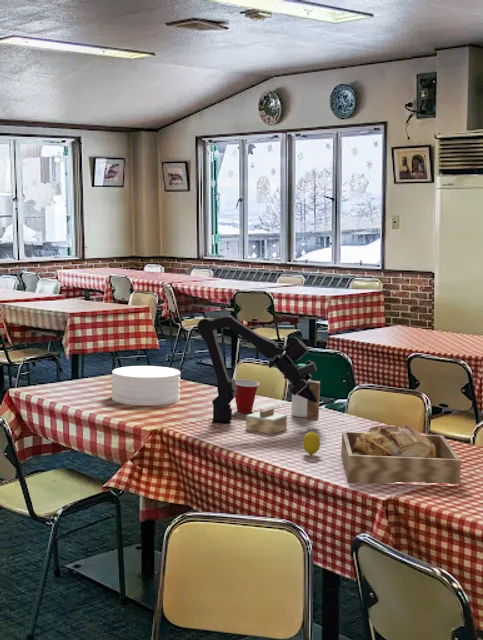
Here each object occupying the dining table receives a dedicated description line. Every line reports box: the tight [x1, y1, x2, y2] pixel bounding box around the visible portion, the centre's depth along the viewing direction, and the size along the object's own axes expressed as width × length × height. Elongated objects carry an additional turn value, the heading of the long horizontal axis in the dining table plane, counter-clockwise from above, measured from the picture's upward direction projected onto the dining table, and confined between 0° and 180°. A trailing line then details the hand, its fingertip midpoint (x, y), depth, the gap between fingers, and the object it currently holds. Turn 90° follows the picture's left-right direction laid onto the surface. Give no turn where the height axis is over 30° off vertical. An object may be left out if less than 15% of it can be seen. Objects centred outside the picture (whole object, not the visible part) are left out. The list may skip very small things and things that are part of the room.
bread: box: [353, 424, 437, 458], centre depth 285 cm, size 25×27×15 cm
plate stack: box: [111, 365, 182, 406], centre depth 382 cm, size 28×28×12 cm
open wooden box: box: [245, 417, 288, 435], centre depth 334 cm, size 11×10×4 cm
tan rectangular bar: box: [306, 380, 321, 422], centre depth 337 cm, size 4×4×14 cm
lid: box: [246, 407, 288, 422], centre depth 333 cm, size 11×10×3 cm
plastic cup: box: [234, 378, 260, 414], centre depth 362 cm, size 11×11×12 cm
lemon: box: [302, 430, 321, 456], centre depth 299 cm, size 6×6×8 cm
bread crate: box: [340, 430, 462, 485], centre depth 284 cm, size 32×30×8 cm
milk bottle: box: [291, 363, 311, 418], centre depth 358 cm, size 8×8×20 cm
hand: (317, 400), depth 337 cm, fingers closed on tan rectangular bar, 4 cm apart
